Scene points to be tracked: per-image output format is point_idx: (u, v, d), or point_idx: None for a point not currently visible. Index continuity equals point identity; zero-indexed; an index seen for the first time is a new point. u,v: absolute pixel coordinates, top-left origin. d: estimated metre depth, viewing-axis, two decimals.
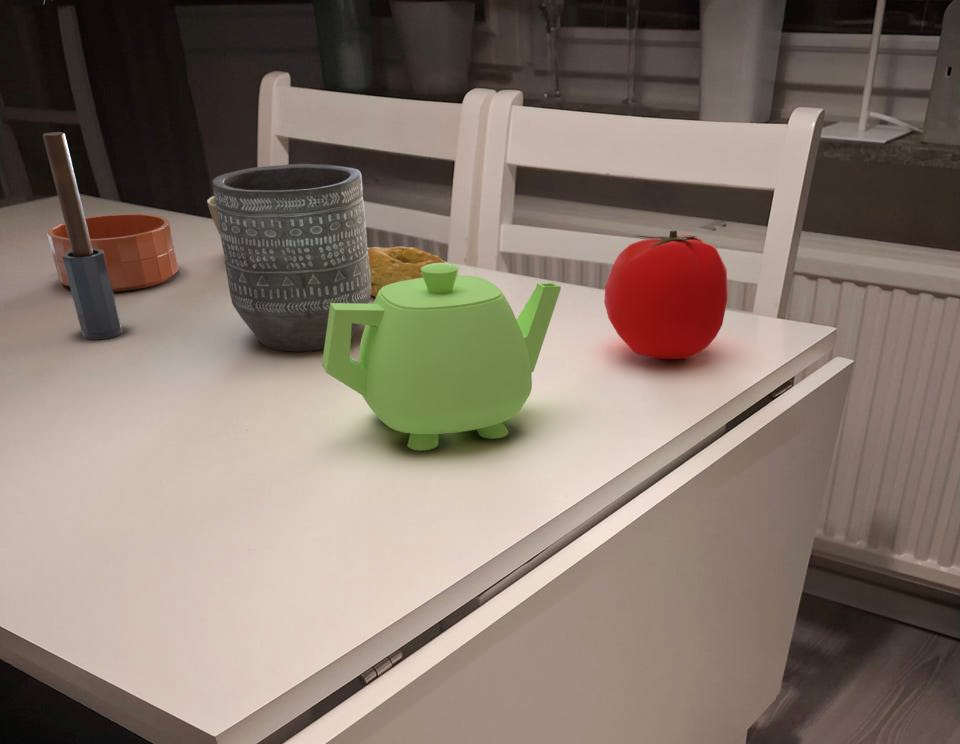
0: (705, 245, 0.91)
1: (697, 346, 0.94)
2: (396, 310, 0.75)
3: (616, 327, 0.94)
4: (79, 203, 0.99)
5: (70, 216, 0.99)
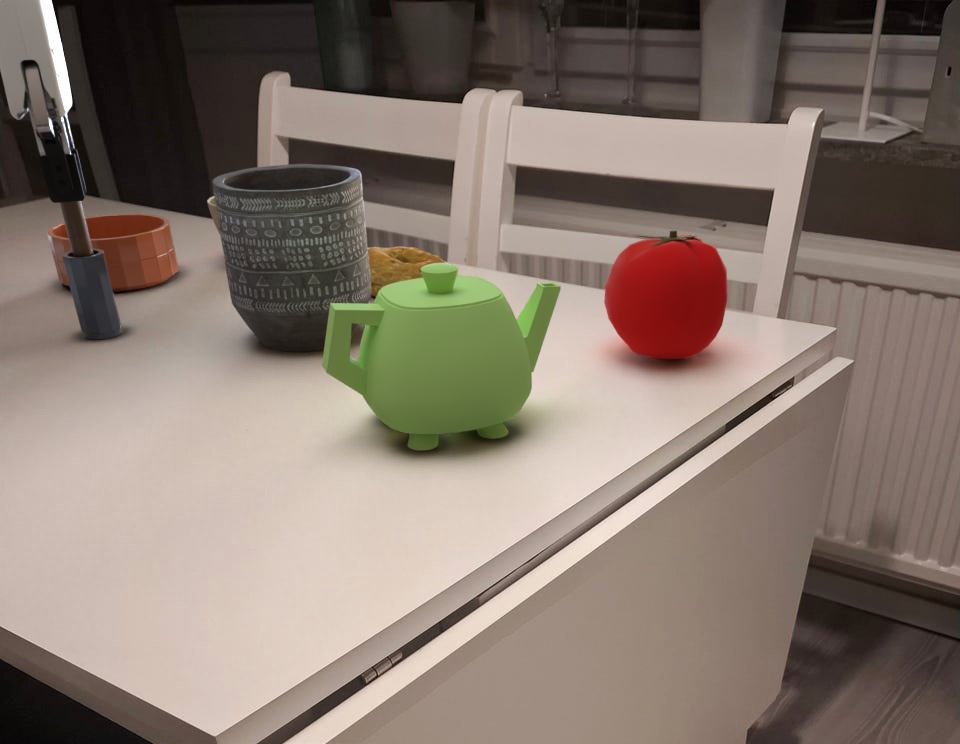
0: (705, 245, 0.91)
1: (697, 346, 0.94)
2: (396, 310, 0.75)
3: (616, 327, 0.94)
4: (79, 203, 0.99)
5: (70, 216, 0.99)
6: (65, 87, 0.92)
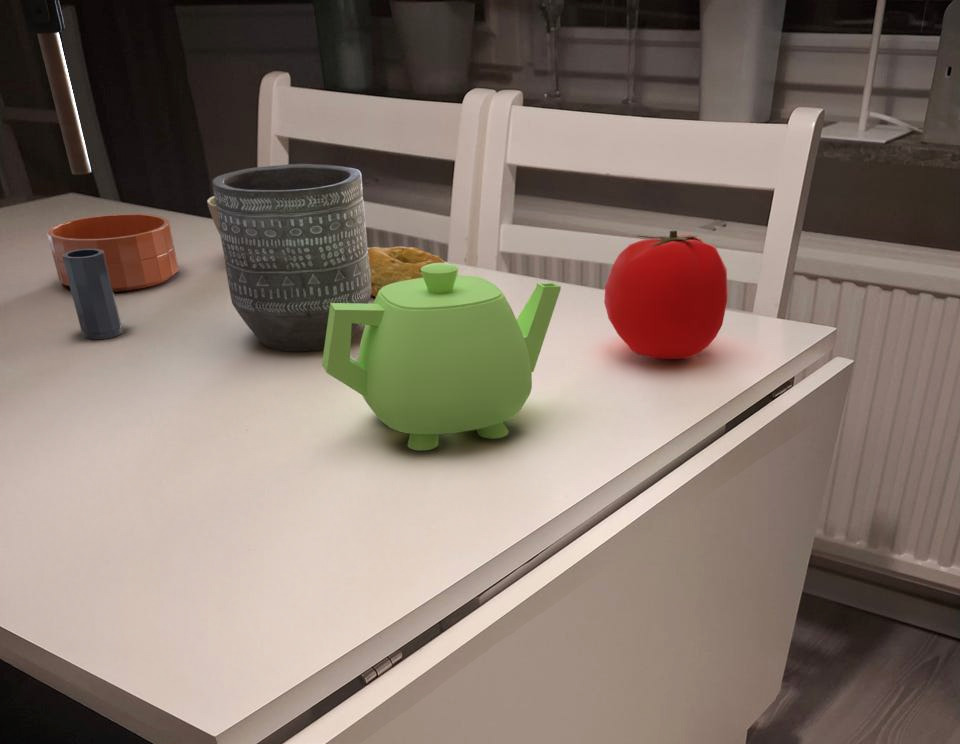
0: (705, 245, 0.91)
1: (697, 346, 0.94)
2: (396, 310, 0.75)
3: (616, 327, 0.94)
4: (57, 36, 1.00)
5: (48, 50, 1.00)
6: None
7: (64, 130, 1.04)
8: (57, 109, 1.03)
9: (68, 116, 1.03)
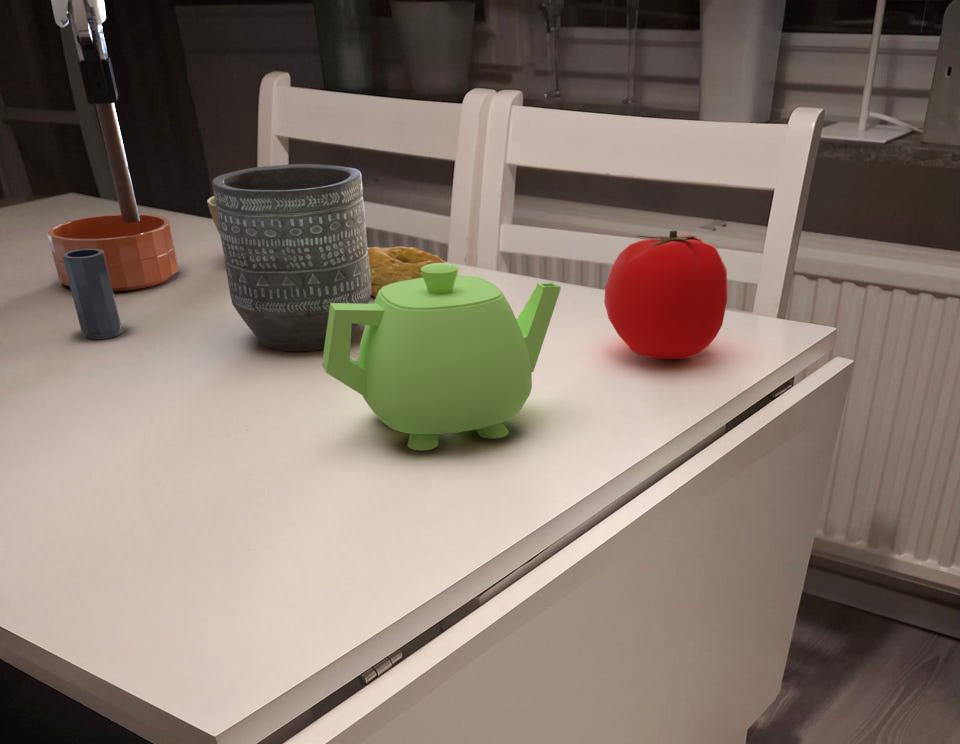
0: (705, 245, 0.91)
1: (697, 346, 0.94)
2: (396, 311, 0.75)
3: (616, 327, 0.94)
4: (112, 105, 1.14)
5: (105, 117, 1.14)
6: None
7: (117, 185, 1.19)
8: (111, 167, 1.18)
9: (121, 173, 1.18)
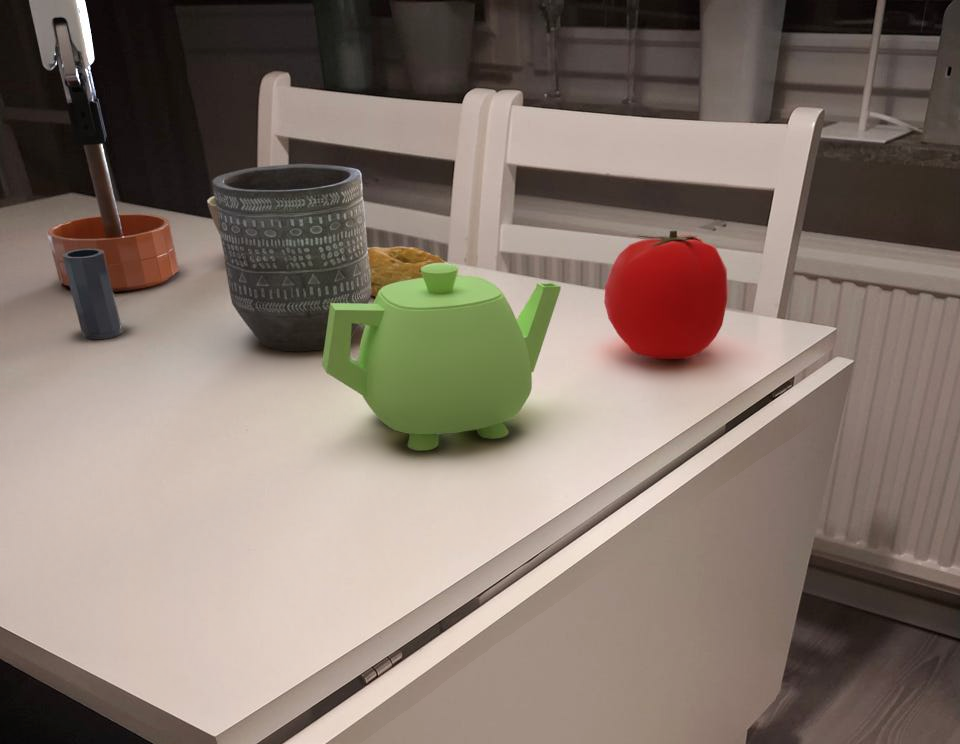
0: (705, 245, 0.91)
1: (697, 346, 0.94)
2: (396, 311, 0.75)
3: (616, 327, 0.94)
4: (101, 146, 1.14)
5: (93, 157, 1.14)
6: (89, 42, 1.07)
7: (105, 224, 1.18)
8: (99, 207, 1.17)
9: (109, 212, 1.18)
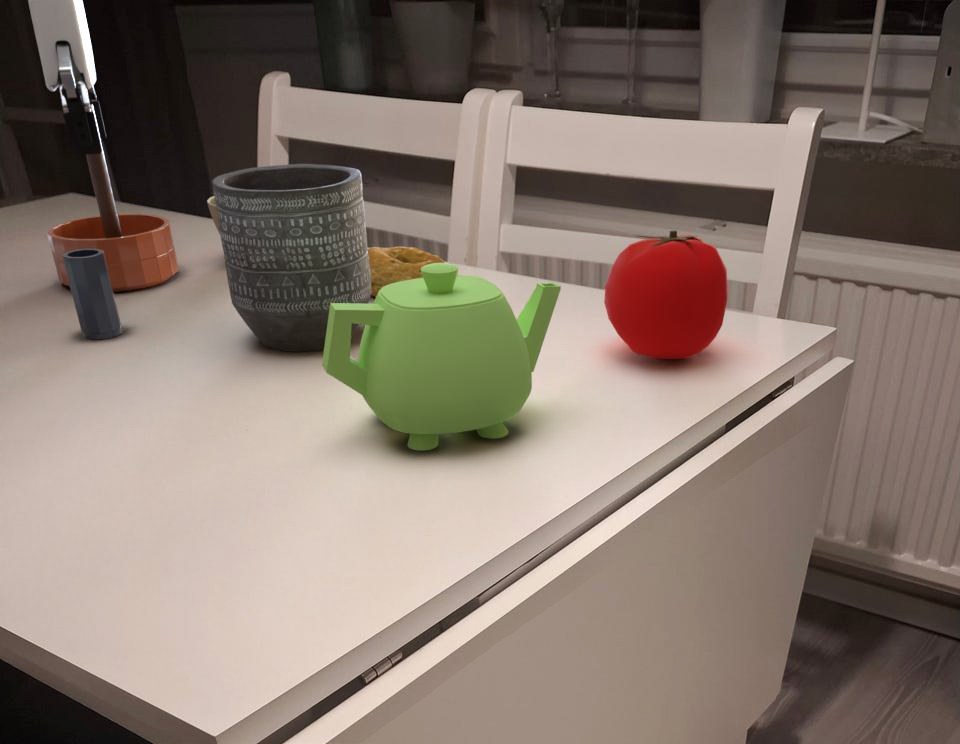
0: (705, 245, 0.91)
1: (697, 346, 0.94)
2: (396, 310, 0.75)
3: (616, 327, 0.94)
4: (104, 164, 1.17)
5: (97, 175, 1.17)
6: (91, 64, 1.10)
7: None
8: (102, 222, 1.21)
9: (112, 228, 1.21)
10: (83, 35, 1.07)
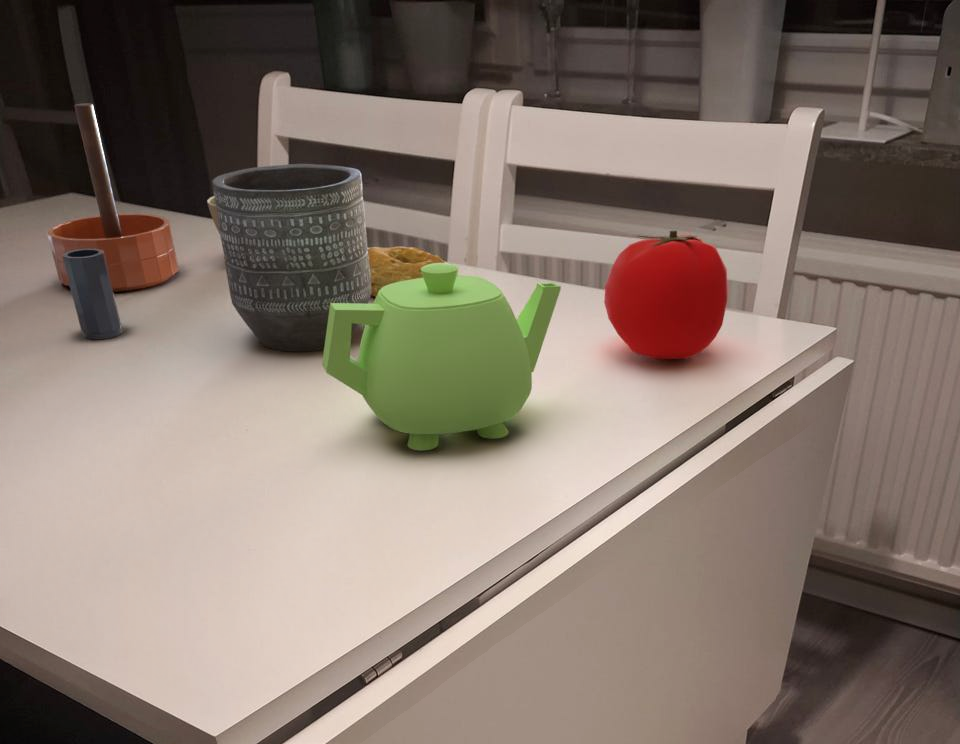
0: (705, 245, 0.91)
1: (697, 346, 0.94)
2: (396, 310, 0.75)
3: (616, 327, 0.94)
4: (104, 164, 1.17)
5: (97, 175, 1.17)
6: None
7: None
8: (102, 222, 1.21)
9: (112, 228, 1.21)
10: None
